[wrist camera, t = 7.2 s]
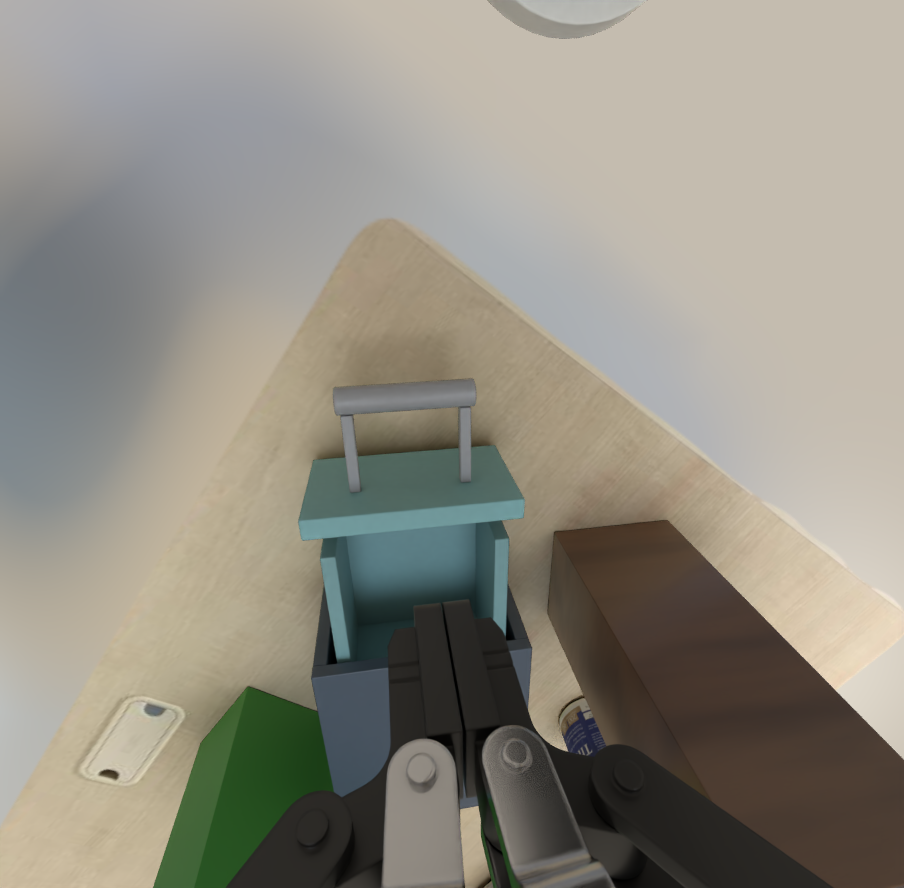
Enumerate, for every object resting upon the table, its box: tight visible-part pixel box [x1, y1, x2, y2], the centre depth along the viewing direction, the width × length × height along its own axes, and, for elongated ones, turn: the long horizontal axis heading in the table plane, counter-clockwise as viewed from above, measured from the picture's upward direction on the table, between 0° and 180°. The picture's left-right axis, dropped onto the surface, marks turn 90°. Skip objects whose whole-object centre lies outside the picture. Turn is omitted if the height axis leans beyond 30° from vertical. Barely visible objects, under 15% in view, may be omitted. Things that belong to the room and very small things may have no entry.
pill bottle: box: [559, 698, 606, 757], centre depth 41 cm, size 5×5×10 cm
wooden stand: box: [548, 520, 904, 888], centre depth 28 cm, size 8×9×22 cm
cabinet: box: [311, 585, 532, 809], centre depth 34 cm, size 15×13×9 cm
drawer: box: [298, 379, 525, 664], centre depth 29 cm, size 19×11×7 cm, turn 1°
